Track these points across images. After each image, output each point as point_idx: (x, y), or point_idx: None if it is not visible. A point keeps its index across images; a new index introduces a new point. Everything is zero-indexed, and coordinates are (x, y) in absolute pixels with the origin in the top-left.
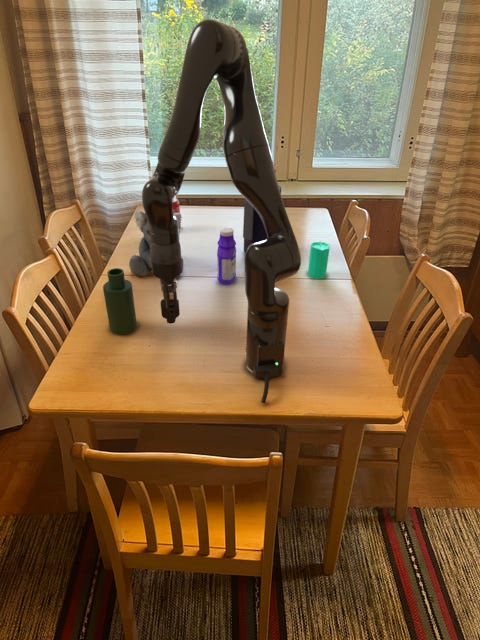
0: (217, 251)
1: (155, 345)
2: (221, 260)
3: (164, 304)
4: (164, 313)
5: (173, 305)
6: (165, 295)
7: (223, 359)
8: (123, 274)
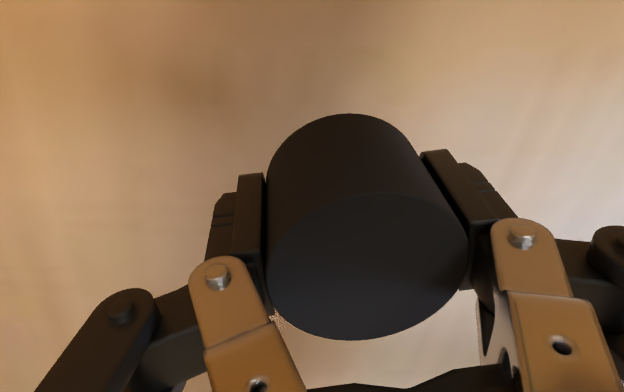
0: None
1: (90, 11)
2: None
3: (315, 235)
4: (283, 171)
5: (140, 390)
6: (488, 258)
7: (35, 343)
8: None
